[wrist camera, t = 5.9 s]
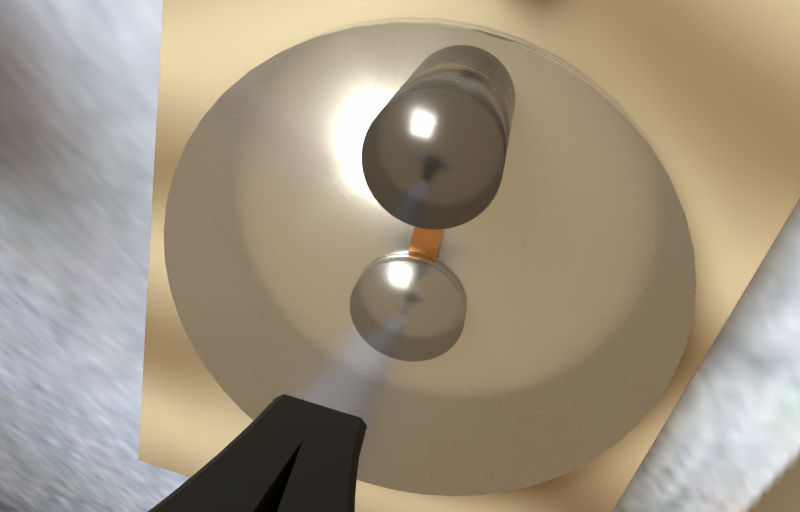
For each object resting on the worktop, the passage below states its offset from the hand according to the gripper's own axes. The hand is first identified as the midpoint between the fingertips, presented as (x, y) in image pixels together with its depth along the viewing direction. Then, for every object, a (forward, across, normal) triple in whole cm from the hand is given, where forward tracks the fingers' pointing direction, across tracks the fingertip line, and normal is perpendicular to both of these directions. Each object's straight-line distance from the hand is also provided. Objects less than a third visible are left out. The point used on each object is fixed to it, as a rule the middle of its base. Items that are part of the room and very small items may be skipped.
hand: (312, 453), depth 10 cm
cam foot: (+9, 0, +2) cm, 9 cm away
